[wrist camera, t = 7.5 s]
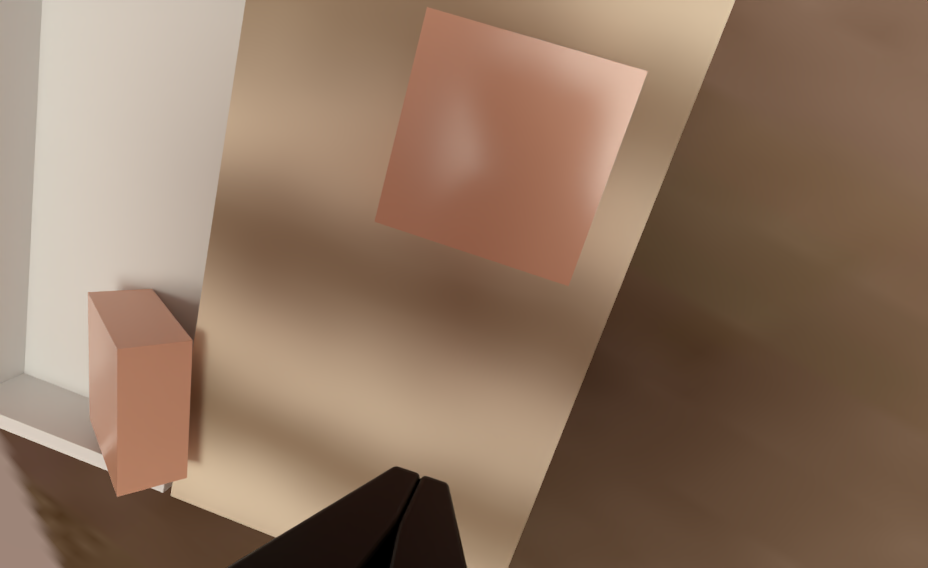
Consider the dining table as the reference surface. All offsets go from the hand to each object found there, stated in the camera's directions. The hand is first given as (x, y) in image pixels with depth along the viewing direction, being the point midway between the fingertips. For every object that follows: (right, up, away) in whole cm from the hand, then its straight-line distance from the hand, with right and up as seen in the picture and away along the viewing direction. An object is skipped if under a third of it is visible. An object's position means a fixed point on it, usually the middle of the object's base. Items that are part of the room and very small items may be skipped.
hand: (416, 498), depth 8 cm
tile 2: (-10, 0, +11) cm, 15 cm away
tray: (-11, +7, +12) cm, 18 cm away
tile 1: (+2, +7, +6) cm, 9 cm away
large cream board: (-1, +3, +11) cm, 11 cm away
